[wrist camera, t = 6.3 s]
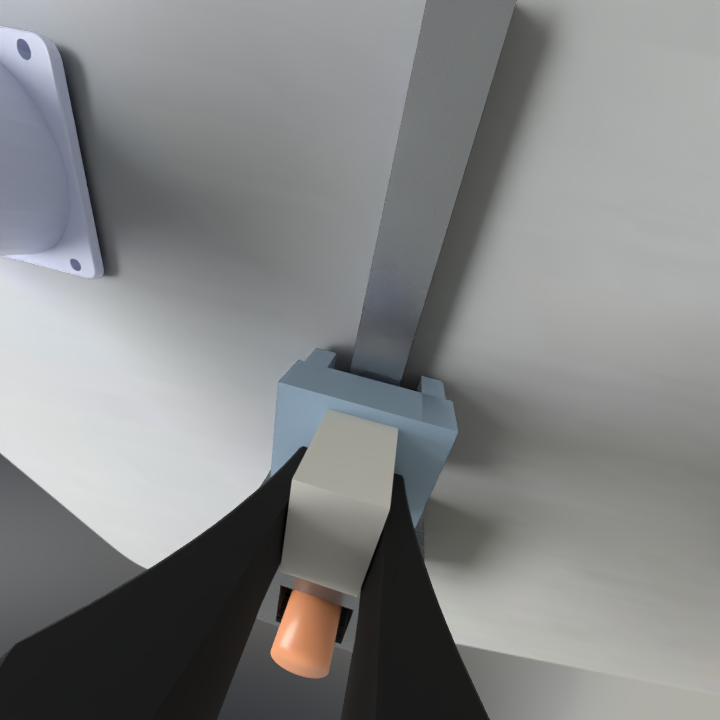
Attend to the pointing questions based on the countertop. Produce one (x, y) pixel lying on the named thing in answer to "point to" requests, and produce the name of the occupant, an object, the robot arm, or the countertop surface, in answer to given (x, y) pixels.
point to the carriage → (353, 463)
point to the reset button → (306, 635)
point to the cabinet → (285, 583)
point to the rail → (427, 173)
